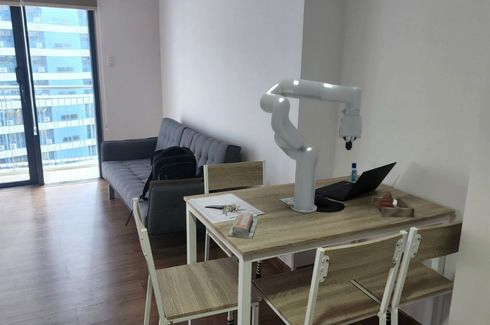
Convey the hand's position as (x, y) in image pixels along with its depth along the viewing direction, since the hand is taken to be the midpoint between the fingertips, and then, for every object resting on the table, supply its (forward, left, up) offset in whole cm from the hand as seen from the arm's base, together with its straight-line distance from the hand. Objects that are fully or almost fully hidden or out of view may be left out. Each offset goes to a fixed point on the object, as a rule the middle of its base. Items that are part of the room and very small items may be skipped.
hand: (348, 149), depth 201 cm
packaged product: (-51, -39, -28) cm, 70 cm away
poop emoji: (+19, -10, -27) cm, 35 cm away
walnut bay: (+20, -11, -27) cm, 35 cm away
